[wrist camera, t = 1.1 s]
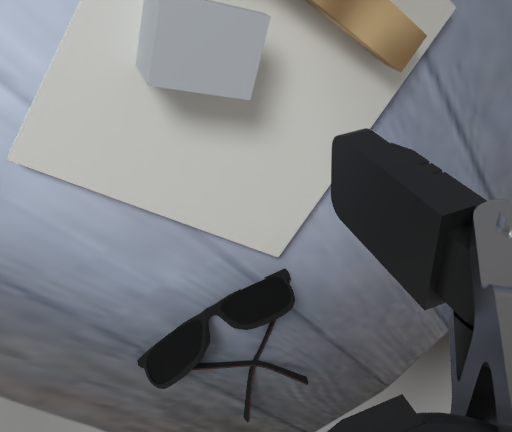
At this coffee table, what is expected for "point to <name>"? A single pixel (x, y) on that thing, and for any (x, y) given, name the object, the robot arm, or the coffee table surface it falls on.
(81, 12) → the board
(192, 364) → the sunglasses
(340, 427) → the robot arm
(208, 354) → the coffee table surface
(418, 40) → the oak link
